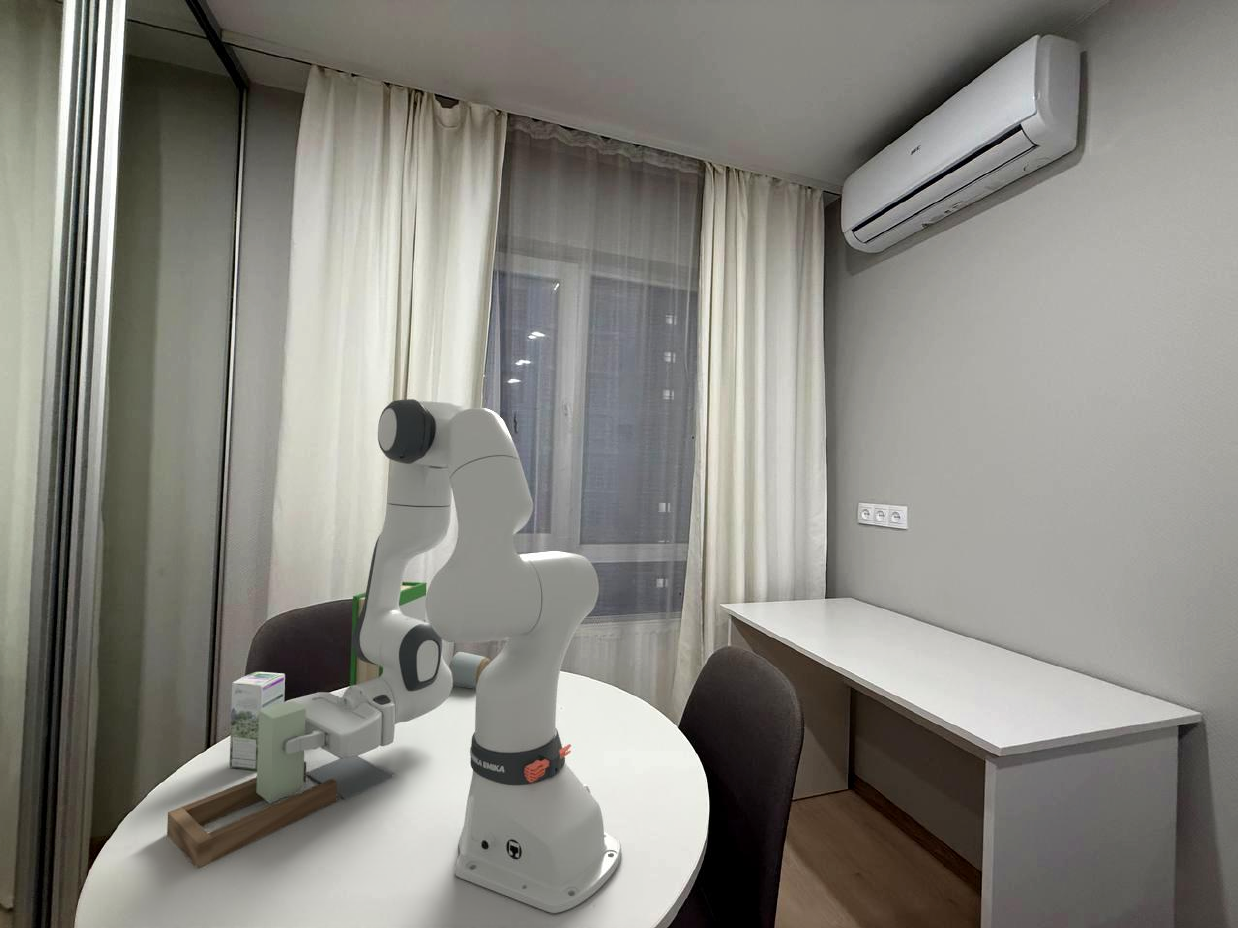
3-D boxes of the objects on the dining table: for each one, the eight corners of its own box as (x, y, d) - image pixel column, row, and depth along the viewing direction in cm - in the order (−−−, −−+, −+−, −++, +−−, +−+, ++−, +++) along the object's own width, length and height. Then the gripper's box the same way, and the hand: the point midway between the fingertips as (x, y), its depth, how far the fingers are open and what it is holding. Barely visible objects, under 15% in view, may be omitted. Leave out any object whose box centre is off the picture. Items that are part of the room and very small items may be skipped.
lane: (336, 801, 82) (337, 781, 82) (197, 868, 68) (198, 843, 68) (301, 777, 89) (301, 759, 89) (166, 834, 74) (167, 812, 74)
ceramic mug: (478, 694, 124) (479, 660, 125) (446, 690, 126) (447, 656, 127) (498, 678, 135) (500, 647, 135) (469, 675, 137) (470, 644, 137)
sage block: (303, 788, 81) (305, 707, 82) (270, 803, 78) (273, 718, 78) (288, 778, 84) (291, 700, 84) (256, 792, 80) (259, 710, 81)
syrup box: (284, 754, 96) (287, 671, 96) (257, 771, 90) (261, 683, 91) (255, 751, 97) (258, 669, 97) (227, 768, 91) (230, 681, 91)
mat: (392, 776, 89) (392, 774, 89) (344, 799, 83) (344, 797, 83) (352, 754, 96) (352, 753, 96) (306, 774, 90) (306, 772, 90)
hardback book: (381, 713, 113) (385, 598, 114) (349, 710, 114) (353, 596, 115) (423, 682, 131) (426, 582, 132) (395, 680, 132) (398, 581, 133)
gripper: (332, 677, 98) (245, 702, 86) (400, 705, 86) (310, 739, 75) (331, 712, 97) (244, 742, 86) (398, 746, 86) (308, 785, 75)
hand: (275, 741), depth 80 cm, fingers closed on sage block, 4 cm apart
